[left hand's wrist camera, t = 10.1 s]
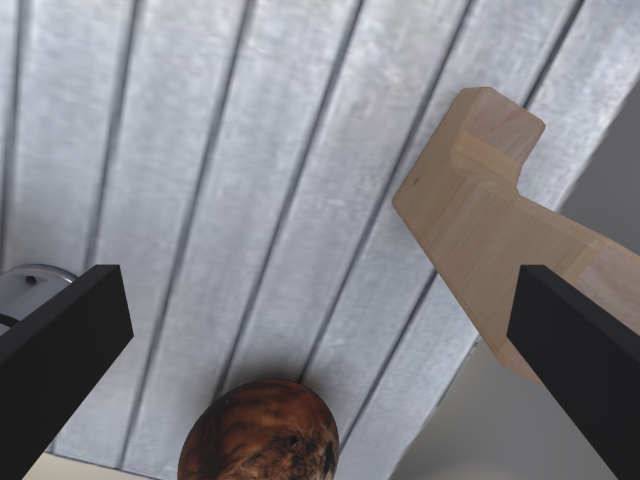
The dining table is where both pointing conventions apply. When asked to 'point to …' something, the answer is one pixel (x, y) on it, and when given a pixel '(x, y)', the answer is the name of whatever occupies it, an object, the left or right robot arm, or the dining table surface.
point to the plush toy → (263, 436)
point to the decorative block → (503, 223)
